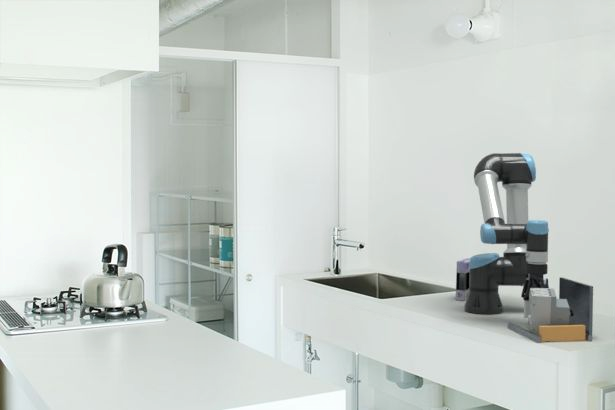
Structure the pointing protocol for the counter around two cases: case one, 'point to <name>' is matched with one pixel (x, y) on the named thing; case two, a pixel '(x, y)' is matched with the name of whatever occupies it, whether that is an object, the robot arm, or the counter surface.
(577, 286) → the dark grey piece
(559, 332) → the orange rectangular bar
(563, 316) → the circuit breaker
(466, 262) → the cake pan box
